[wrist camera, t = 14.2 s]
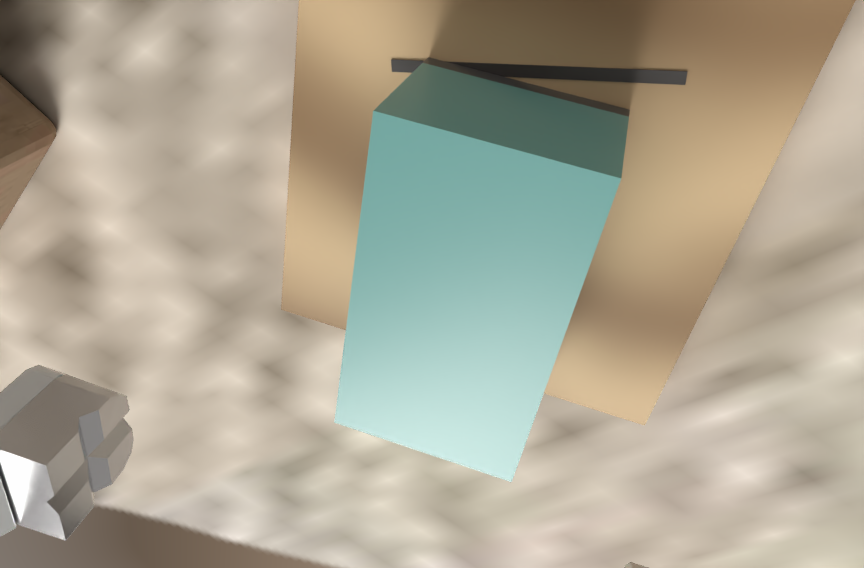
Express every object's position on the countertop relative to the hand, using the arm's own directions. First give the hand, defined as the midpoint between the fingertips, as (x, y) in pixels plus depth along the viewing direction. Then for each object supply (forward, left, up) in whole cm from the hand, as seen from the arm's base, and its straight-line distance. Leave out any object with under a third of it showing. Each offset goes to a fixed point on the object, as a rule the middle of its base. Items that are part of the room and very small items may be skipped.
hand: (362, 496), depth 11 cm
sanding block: (+1, 0, -10) cm, 10 cm away
